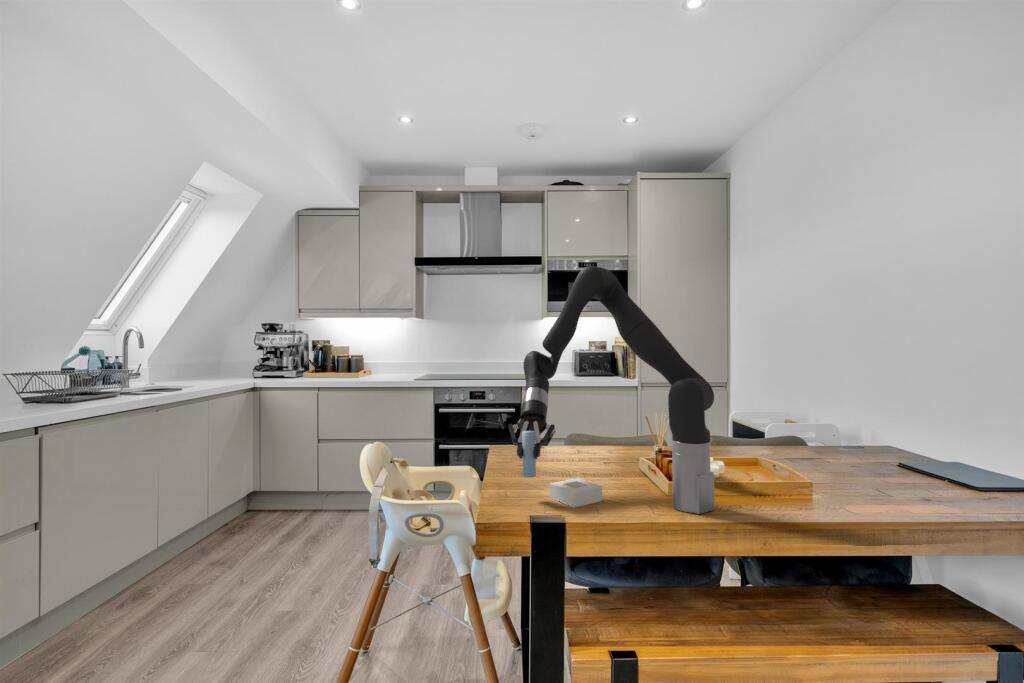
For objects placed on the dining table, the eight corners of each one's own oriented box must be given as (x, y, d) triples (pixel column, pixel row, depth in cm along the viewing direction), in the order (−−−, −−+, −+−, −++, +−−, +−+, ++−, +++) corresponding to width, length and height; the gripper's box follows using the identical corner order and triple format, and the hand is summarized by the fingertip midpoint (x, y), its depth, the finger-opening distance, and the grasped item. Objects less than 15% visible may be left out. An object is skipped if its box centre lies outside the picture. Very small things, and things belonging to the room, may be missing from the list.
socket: (602, 500, 140) (602, 486, 140) (573, 507, 134) (573, 492, 134) (578, 491, 148) (578, 477, 148) (550, 497, 143) (549, 483, 143)
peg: (538, 475, 142) (537, 431, 142) (527, 478, 140) (526, 433, 140) (531, 473, 145) (530, 430, 145) (520, 475, 143) (519, 431, 143)
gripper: (508, 398, 152) (499, 448, 140) (557, 398, 149) (552, 449, 137) (513, 414, 157) (504, 464, 145) (560, 414, 154) (555, 465, 142)
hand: (527, 456), depth 141 cm, fingers closed on peg, 3 cm apart
